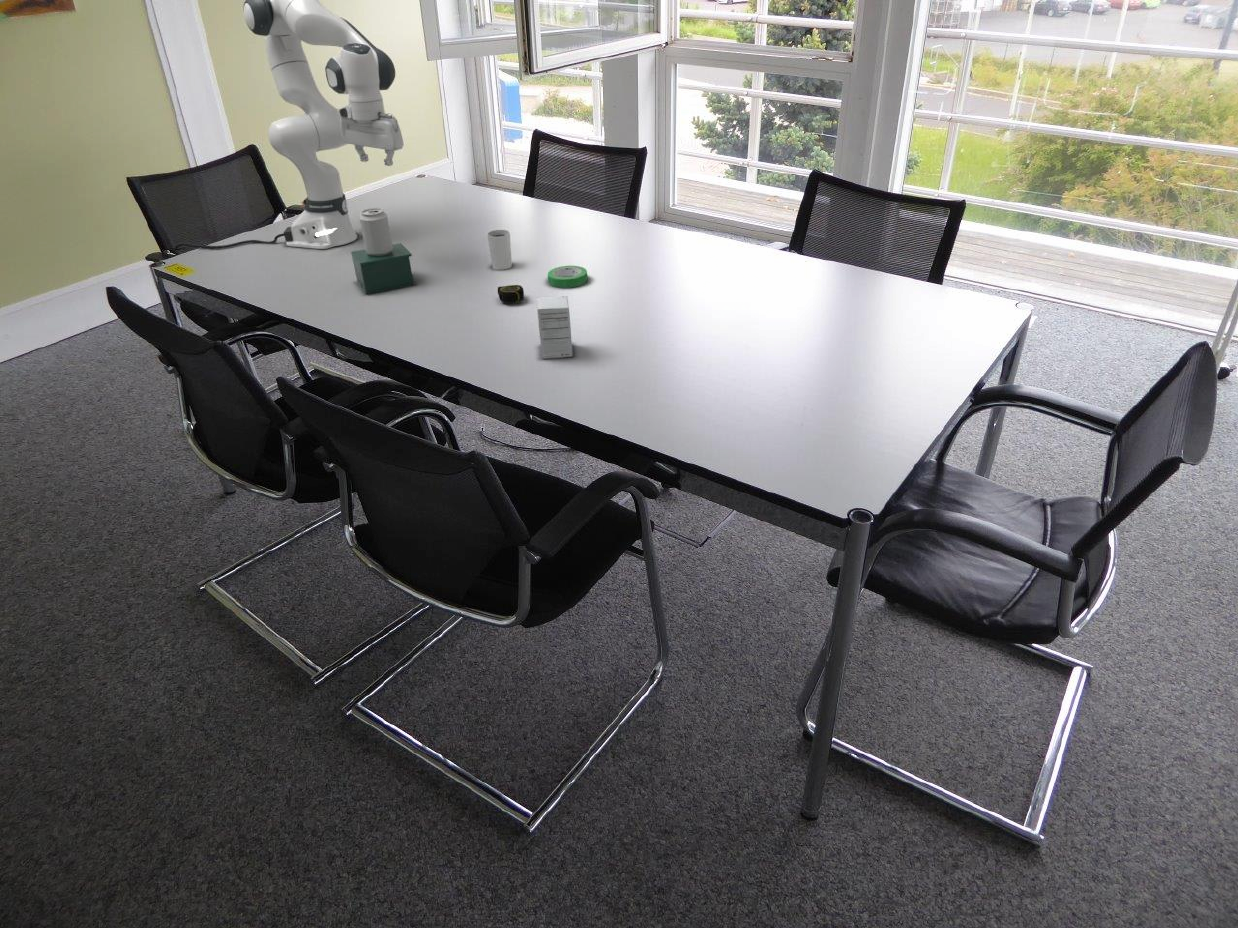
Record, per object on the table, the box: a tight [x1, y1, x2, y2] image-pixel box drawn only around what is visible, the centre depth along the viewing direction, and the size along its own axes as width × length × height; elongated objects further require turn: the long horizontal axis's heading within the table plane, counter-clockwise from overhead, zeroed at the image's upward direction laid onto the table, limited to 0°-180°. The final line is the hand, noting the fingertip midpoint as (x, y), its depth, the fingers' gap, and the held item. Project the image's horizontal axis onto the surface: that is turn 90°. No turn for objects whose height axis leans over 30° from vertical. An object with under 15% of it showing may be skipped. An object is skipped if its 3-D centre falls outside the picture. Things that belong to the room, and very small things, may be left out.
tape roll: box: [547, 265, 589, 289], centre depth 245 cm, size 11×11×3 cm
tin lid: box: [350, 242, 413, 266], centre depth 245 cm, size 14×11×1 cm
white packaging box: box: [536, 295, 573, 360], centre depth 203 cm, size 7×7×13 cm
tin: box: [351, 254, 415, 295], centre depth 247 cm, size 14×11×8 cm
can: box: [358, 207, 393, 256], centre depth 241 cm, size 8×8×12 cm
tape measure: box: [497, 284, 525, 304], centre depth 234 cm, size 7×7×4 cm
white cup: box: [486, 229, 513, 271], centre depth 255 cm, size 7×7×10 cm
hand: (376, 163), depth 242 cm, fingers open, 8 cm apart
